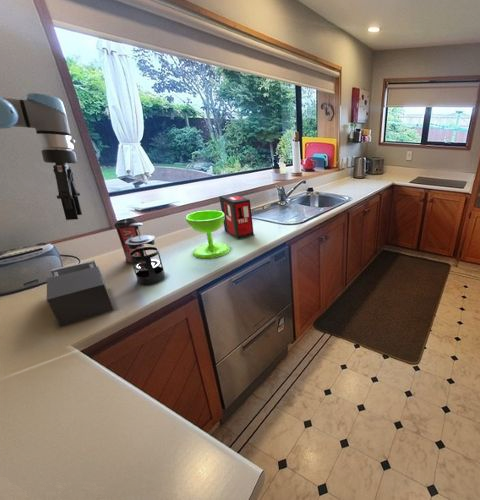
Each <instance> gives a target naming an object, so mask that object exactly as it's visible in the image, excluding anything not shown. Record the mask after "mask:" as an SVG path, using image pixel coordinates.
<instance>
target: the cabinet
mask: <svg viewBox="0 0 480 500" xmlns="http://www.w3.org/2000/svg"><path fill="white" fill-rule="evenodd" d="M96 266H97V265H96ZM46 301H47V303H48V305H49V307H50V309H51V312H52V313H53V315H54V317H55V320H56V321H57V324H58V325H59V327H63V326H67V325H70V324H73V323H76V322H79V321H83V320H85V319H88V318H92V317H94V316H98V315H102V314H105V313H107V312H111V311H113V310H115V309H114V306H113V303H112V299H111V297H110V293H109V290H108V288H107V286H106V283H105V280H104V278H103V274H102V272H101V270H100V267H99V266H97V267H93V268H89V269H85V270H80V271H76V272H72V273H67V274H63V275H59V276H55V277H53V276H50V277H47V278H46Z"/></svg>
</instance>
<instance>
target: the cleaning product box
mask: <svg viewBox="0 0 480 500" xmlns="http://www.w3.org/2000/svg"><path fill="white" fill-rule="evenodd" d="M218 197H219V204H220V211H221V212H223V213H224V214H225V219H224V222H223V227H224V232H226V233H228V234H229V235H231V236H232V237H234V238H236V239H238V240H240V239H244V238H249V237H251V236H254V235H255V234H254V223H253V215H252V207H251V199H250V198H247V197H245V196H241V195H239V194H236V193H231V194H225V195H224V194H223V195H219V196H218Z"/></svg>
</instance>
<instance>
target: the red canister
mask: <svg viewBox="0 0 480 500" xmlns="http://www.w3.org/2000/svg"><path fill="white" fill-rule="evenodd" d="M133 223H138V221H137V220H135V219H134V218H124V219H119V220H117V221H116V222H115V223H114V227H115V229H116V232H117V235H118V238H119V241H120V244H121V247H122V250H123V253H124V256H125V261H126V262H127V263H131V264H132V261H133V264H138V263H140V262H142V260H133V259H132V261H131V258H130V255H129V253H130V252H131V251H133V250H136V249H138V247H142V246H141V245H139V246H138V247H136V248H135V249H130V248H129V247H128V245H127V244H126V243H125V242H126V240H128V239H130V238H132V237H136V236H138V232H137V229H135V227H129V225H130V224H133ZM138 231H139V235H140V236H142V234H141V232H140V228H139V229H138ZM142 245H143V247H145V244H142ZM145 252H146V255H148V254H147V250H145ZM132 256H135V257H139V256H140V253H139V252H137V253H135V254H133V255H132Z"/></svg>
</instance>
